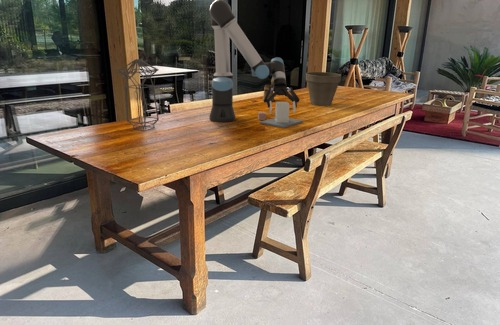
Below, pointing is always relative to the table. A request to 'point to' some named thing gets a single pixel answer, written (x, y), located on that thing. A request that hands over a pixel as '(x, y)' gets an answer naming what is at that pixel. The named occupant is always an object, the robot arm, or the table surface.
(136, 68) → the geometric lantern
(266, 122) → the slate board
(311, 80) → the plant pot
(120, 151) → the table surface
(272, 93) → the utensil holder
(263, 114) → the terracotta cube
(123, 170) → the table surface
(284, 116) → the grey cover
